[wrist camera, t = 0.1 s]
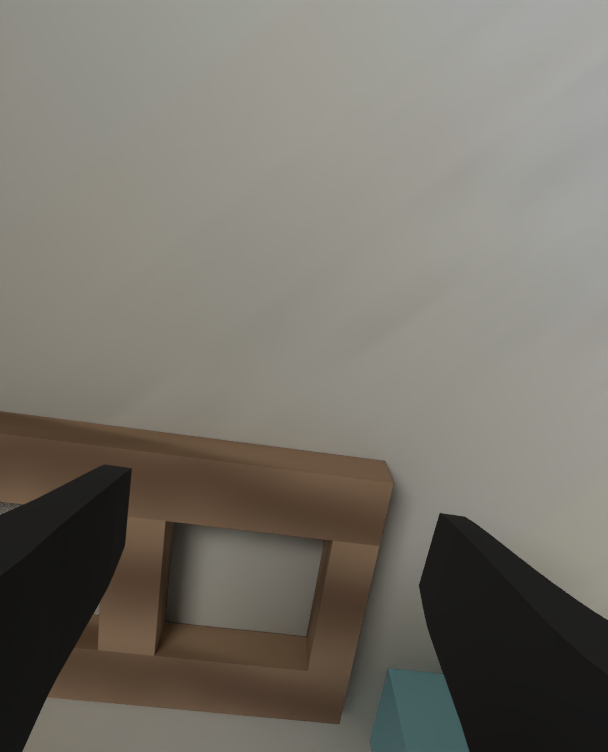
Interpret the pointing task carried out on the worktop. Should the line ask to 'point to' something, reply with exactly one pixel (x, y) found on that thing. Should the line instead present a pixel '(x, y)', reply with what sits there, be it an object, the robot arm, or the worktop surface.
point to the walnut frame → (217, 509)
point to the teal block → (417, 715)
